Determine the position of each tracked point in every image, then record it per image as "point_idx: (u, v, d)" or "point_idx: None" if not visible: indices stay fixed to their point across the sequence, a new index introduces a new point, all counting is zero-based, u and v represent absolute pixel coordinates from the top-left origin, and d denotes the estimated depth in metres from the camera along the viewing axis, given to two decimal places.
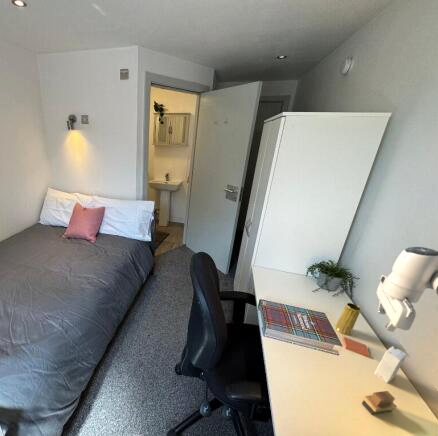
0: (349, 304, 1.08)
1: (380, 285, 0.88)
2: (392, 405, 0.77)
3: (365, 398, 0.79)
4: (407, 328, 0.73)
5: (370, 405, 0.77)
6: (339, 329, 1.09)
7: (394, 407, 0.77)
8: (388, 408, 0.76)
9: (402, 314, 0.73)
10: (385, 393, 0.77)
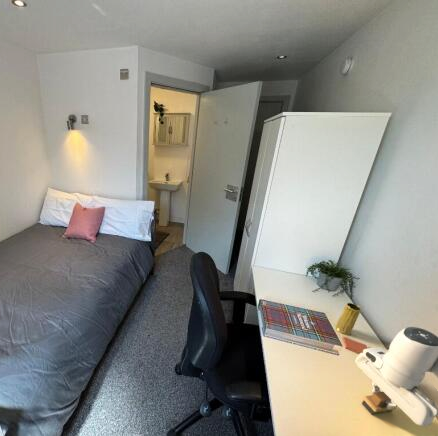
0: (349, 304, 1.08)
1: (362, 358, 0.81)
2: None
3: (365, 398, 0.79)
4: None
5: (370, 405, 0.77)
6: (339, 329, 1.09)
7: (394, 407, 0.77)
8: None
9: (428, 414, 0.65)
10: None
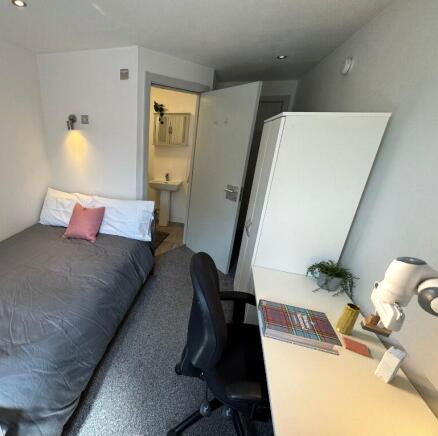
0: (349, 304, 1.08)
1: (374, 290, 0.97)
2: (387, 329, 0.90)
3: (363, 318, 0.96)
4: (397, 330, 0.82)
5: (363, 322, 0.95)
6: (339, 329, 1.09)
7: (389, 331, 0.90)
8: (381, 329, 0.91)
9: (393, 317, 0.82)
10: None
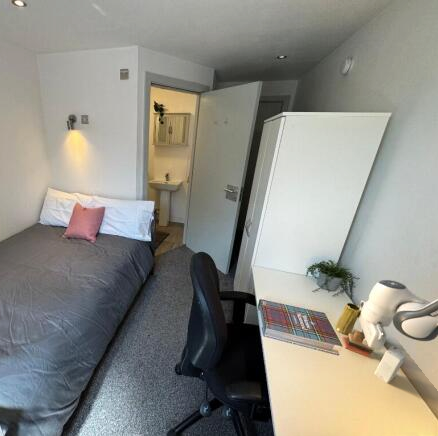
0: (349, 304, 1.08)
1: (360, 308, 1.03)
2: None
3: (349, 334, 1.02)
4: (379, 348, 0.88)
5: (349, 338, 1.01)
6: (339, 329, 1.09)
7: (372, 348, 0.96)
8: (365, 345, 0.97)
9: (375, 337, 0.88)
10: None
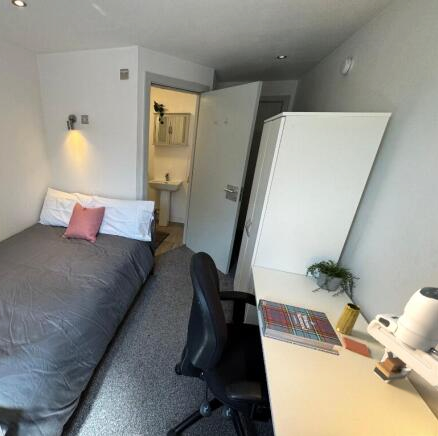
0: (349, 304, 1.08)
1: (374, 324, 0.79)
2: None
3: (377, 364, 0.76)
4: None
5: (383, 371, 0.74)
6: (339, 329, 1.09)
7: (408, 373, 0.74)
8: (402, 374, 0.73)
9: None
10: (399, 359, 0.74)
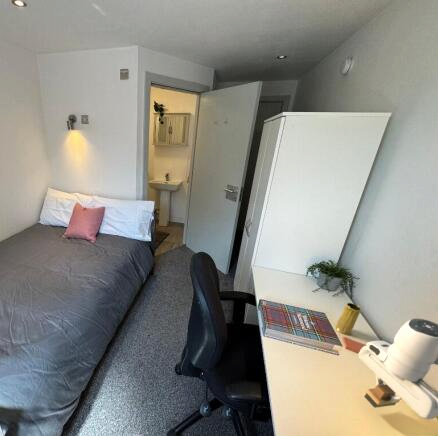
0: (349, 304, 1.08)
1: (365, 351, 0.80)
2: None
3: (367, 391, 0.78)
4: (435, 417, 0.65)
5: (373, 398, 0.76)
6: (339, 329, 1.09)
7: (397, 400, 0.75)
8: None
9: (433, 407, 0.64)
10: (388, 386, 0.76)
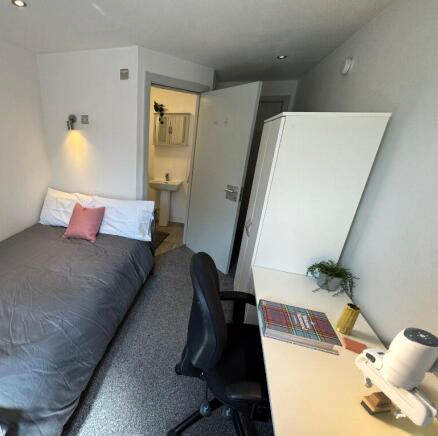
0: (349, 304, 1.08)
1: (361, 358, 0.82)
2: (391, 405, 0.77)
3: (363, 398, 0.79)
4: (429, 424, 0.66)
5: (369, 406, 0.77)
6: (339, 329, 1.09)
7: (393, 407, 0.77)
8: (387, 408, 0.76)
9: (427, 415, 0.65)
10: None
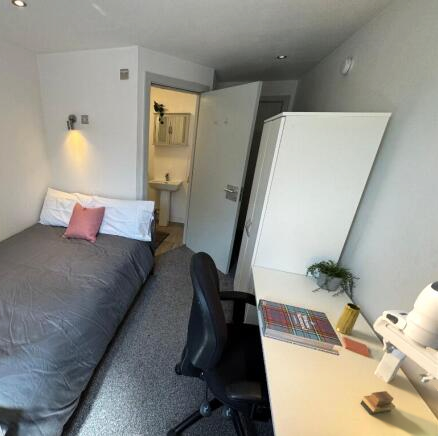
0: (349, 304, 1.08)
1: (381, 321, 0.75)
2: (391, 405, 0.77)
3: (363, 398, 0.79)
4: None
5: (369, 406, 0.77)
6: (339, 329, 1.09)
7: (393, 407, 0.77)
8: (387, 408, 0.76)
9: None
10: (384, 393, 0.77)
